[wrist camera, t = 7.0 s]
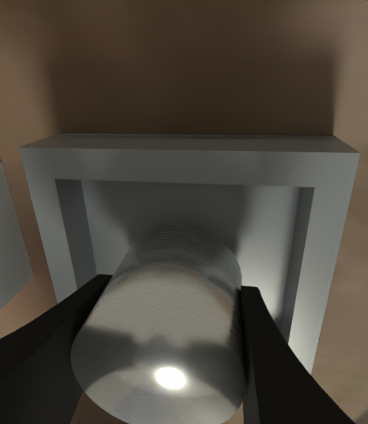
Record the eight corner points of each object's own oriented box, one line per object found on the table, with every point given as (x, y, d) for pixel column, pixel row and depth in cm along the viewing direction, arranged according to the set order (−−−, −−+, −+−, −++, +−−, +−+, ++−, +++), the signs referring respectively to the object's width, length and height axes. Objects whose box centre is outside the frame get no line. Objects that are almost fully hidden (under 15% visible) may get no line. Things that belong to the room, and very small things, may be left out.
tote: (294, 348, 17) (305, 398, 15) (96, 326, 19) (73, 368, 16) (333, 135, 12) (360, 152, 10) (60, 132, 14) (18, 147, 11)
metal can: (238, 328, 14) (239, 445, 10) (129, 317, 15) (85, 420, 11) (245, 228, 12) (251, 319, 8) (117, 222, 13) (54, 301, 8)
